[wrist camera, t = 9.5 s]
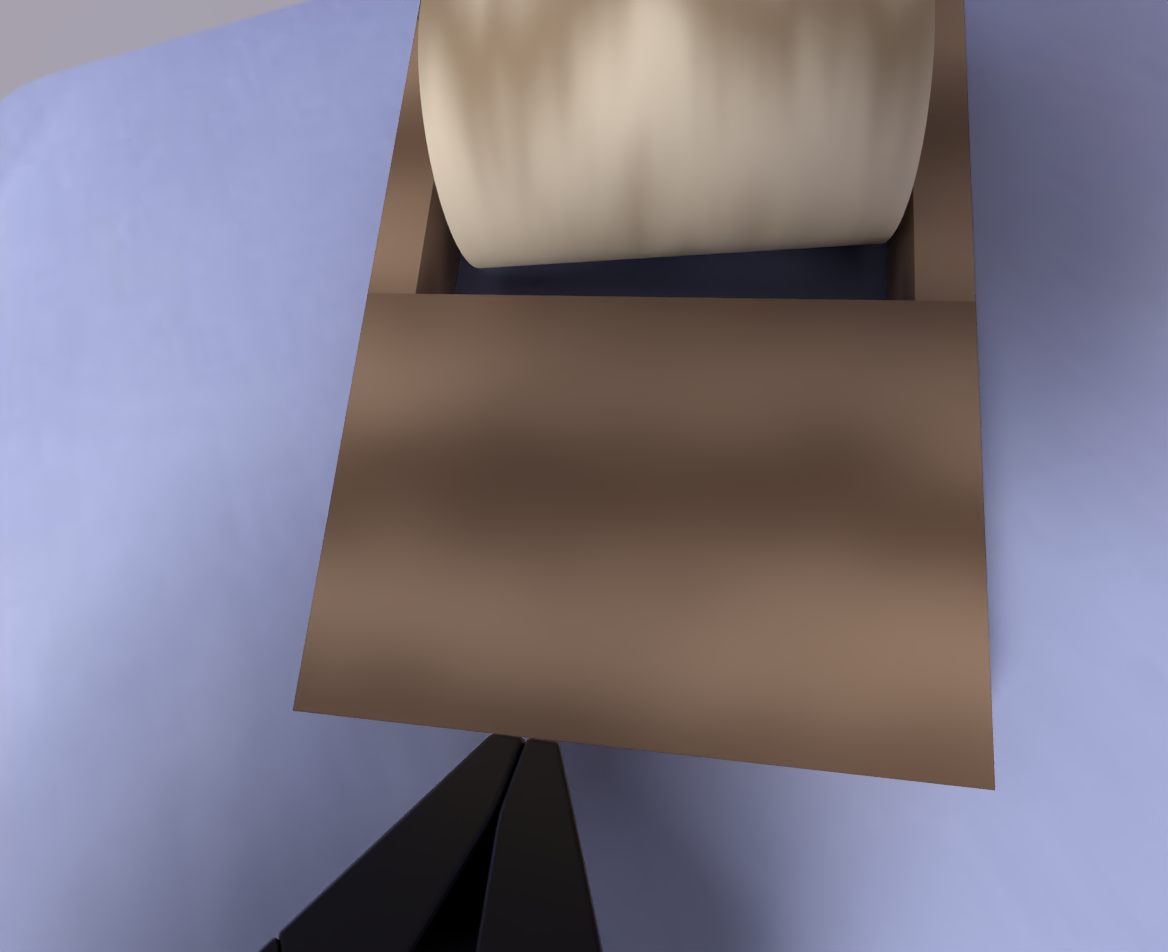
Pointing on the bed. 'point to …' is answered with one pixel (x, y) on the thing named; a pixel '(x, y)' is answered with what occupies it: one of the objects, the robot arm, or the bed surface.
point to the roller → (672, 124)
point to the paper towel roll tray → (670, 501)
